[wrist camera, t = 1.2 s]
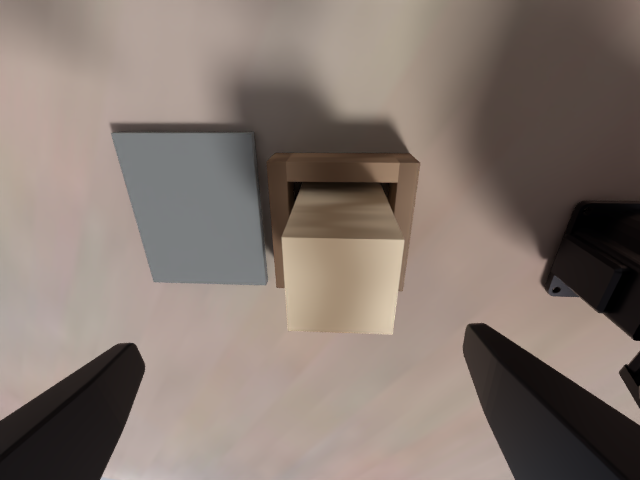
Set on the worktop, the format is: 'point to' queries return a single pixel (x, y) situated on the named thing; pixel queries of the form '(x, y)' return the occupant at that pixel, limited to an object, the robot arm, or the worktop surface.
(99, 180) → the worktop surface
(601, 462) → the robot arm
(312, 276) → the birch block
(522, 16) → the worktop surface
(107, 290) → the worktop surface
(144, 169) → the slate mat
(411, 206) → the walnut pocket
